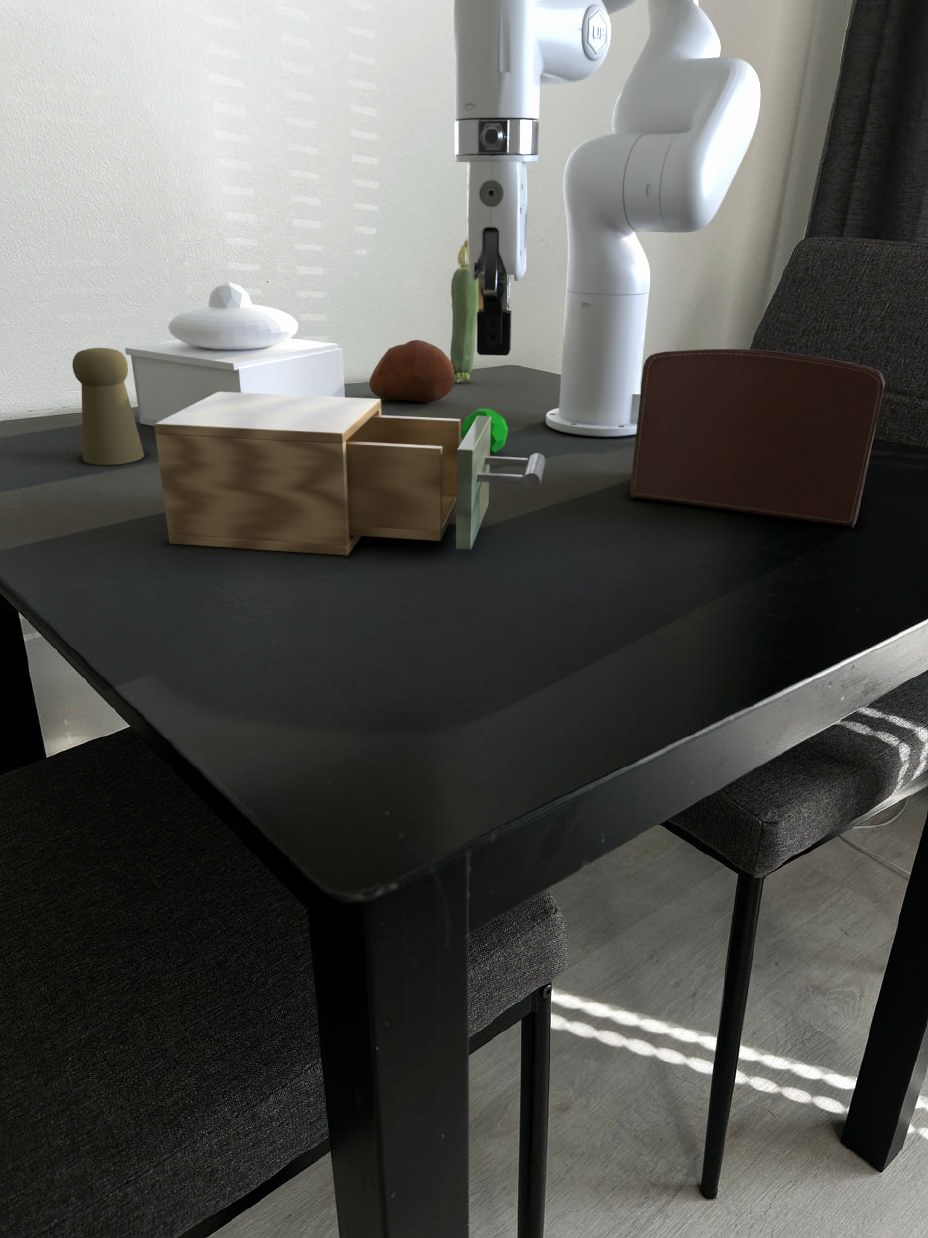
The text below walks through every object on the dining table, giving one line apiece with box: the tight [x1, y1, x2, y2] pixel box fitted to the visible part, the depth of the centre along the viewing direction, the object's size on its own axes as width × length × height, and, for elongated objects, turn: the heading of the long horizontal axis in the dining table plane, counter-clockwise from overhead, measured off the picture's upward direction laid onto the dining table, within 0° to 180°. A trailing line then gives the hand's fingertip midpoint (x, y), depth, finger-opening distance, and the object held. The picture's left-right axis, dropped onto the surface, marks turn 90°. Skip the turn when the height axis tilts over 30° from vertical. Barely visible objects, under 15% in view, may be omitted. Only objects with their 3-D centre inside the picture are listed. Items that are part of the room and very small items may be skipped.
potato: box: [368, 339, 455, 403], centre depth 122 cm, size 8×12×8 cm, turn 88°
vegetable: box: [449, 238, 479, 383], centre depth 133 cm, size 4×4×20 cm
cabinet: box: [153, 392, 382, 556], centre depth 75 cm, size 15×13×10 cm
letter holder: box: [629, 348, 885, 528], centre depth 83 cm, size 10×20×14 cm, turn 68°
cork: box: [71, 347, 145, 466], centre depth 93 cm, size 6×6×11 cm
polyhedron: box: [460, 408, 509, 456], centre depth 98 cm, size 5×5×5 cm
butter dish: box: [124, 281, 346, 427], centre depth 108 cm, size 18×18×16 cm
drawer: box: [345, 414, 546, 551], centre depth 74 cm, size 18×11×8 cm, turn 82°
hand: (493, 353), depth 90 cm, fingers closed
